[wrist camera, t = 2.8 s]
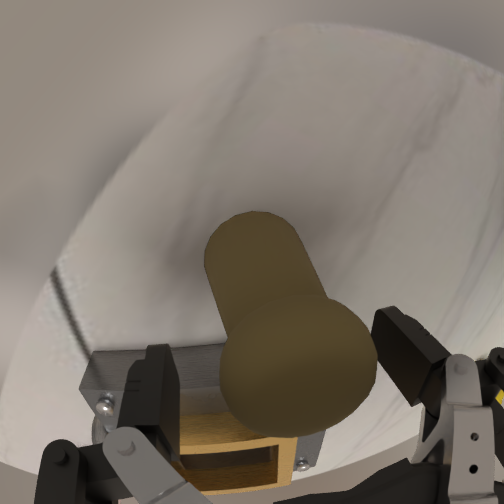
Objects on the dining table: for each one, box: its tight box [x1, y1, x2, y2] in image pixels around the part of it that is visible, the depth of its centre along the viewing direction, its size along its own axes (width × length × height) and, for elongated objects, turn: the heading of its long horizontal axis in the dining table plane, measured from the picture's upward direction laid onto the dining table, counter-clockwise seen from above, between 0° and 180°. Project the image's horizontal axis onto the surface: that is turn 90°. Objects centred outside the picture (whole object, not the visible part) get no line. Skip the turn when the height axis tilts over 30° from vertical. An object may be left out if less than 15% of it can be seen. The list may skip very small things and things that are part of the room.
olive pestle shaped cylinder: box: [204, 211, 378, 438], centre depth 12 cm, size 6×6×11 cm
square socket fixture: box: [79, 343, 326, 495], centre depth 19 cm, size 19×16×6 cm
